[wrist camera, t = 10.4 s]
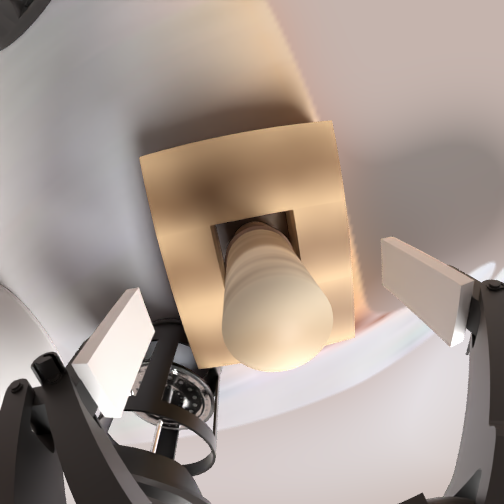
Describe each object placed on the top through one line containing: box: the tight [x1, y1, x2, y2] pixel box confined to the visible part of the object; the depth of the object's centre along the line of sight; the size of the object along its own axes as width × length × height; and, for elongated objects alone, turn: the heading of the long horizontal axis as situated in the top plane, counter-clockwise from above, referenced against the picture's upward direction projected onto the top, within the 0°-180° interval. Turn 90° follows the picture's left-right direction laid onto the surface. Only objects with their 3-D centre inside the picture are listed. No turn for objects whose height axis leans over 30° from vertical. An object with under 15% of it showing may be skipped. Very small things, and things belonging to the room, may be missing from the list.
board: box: [139, 121, 355, 369], centre depth 23 cm, size 18×14×4 cm
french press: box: [98, 319, 222, 504], centre depth 16 cm, size 12×9×23 cm
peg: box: [222, 222, 333, 372], centre depth 18 cm, size 5×5×14 cm
